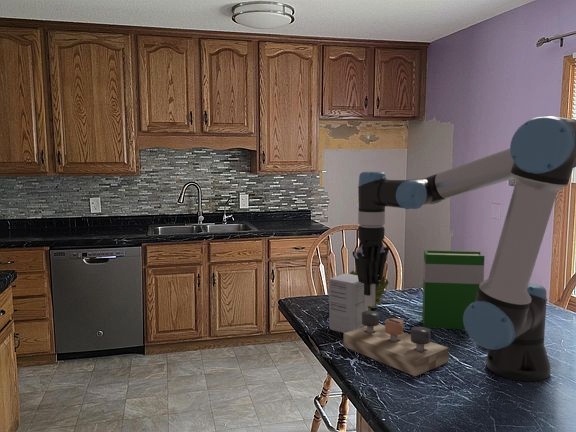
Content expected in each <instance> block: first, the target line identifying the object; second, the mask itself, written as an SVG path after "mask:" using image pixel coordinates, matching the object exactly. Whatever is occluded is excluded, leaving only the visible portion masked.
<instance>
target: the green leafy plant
mask: <svg viewBox="0 0 576 432" xmlns="http://www.w3.org/2000/svg"><path fill="white" fill-rule="evenodd" d="M348 274H352V275H357V269H356V270H354V269H353V270H351V271H350V272H349V273H348ZM379 282H380V283H379V284H377V287H376V294H375V306H373V307H370V306H368V311H372V309H375V308H378V304H381V300H382V299H383V298H384V296H383V294H385V289H386V288H387V286H388V285H389V284H390V282H389V281H388V279H387V278H386V279H385V276H384V275H383V276H382V280H379Z"/></svg>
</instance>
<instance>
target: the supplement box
mask: <svg viewBox="0 0 576 432" xmlns="http://www.w3.org/2000/svg"><path fill="white" fill-rule="evenodd" d="M328 281H329V282H328V284H329V285H328V291H329V293H328V295H329V296H328V297H329V299H328V300H329V301H328V302H329V303H328V305H329V306H328V308H329V311H328V313H329V314H328V315H329V321H328V322H329V324H328V325H329V330H331V331H334V332H335V331H336V332H339V333H343V334H344V333H346V332H349V331H352V330H356V329H359V328H362V327H365V325H363V324H362V312H364V311H368V306H367V305H365V295H364V284H363V283H361V282H359V280H358V275H352V274H349V273H347V272H346V273H341V274H340V275H337V276H334V277H331V278H329V280H328Z"/></svg>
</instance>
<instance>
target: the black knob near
mask: <svg viewBox="0 0 576 432" xmlns="http://www.w3.org/2000/svg"><path fill="white" fill-rule="evenodd" d="M410 335H411V341H412V342H413V343H416V351H417V352H420V353H422V352H424V344H428V343H430V342H431V328H425V327H424V326H414V327H412V328H410Z"/></svg>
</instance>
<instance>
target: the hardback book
mask: <svg viewBox="0 0 576 432" xmlns="http://www.w3.org/2000/svg"><path fill="white" fill-rule="evenodd" d="M485 257H486V256H485V255H483V254H482V255H481V251H478V250H476V251H475V250H474V251H473V250H470V251H469V250H440V249H439V250H437V249H436V250H433V249H432V250H431V249H425V250H423V272H422V273H423V275H422V276H423V277H422V279H423V281H422V320H421V321H422V324H423V327H425V328H428V329H445V330H446V329H447V330H463V331H464V330H465V327H464V323H463V315H464V312H465V310H466V308H467V307H468V306H469V305H470V304H471V303H473V302H475V299H476V295H477V292H478V288H479V285H480V283H481V282H483V281H485V279H484V277H485ZM465 331H466V330H465Z"/></svg>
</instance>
